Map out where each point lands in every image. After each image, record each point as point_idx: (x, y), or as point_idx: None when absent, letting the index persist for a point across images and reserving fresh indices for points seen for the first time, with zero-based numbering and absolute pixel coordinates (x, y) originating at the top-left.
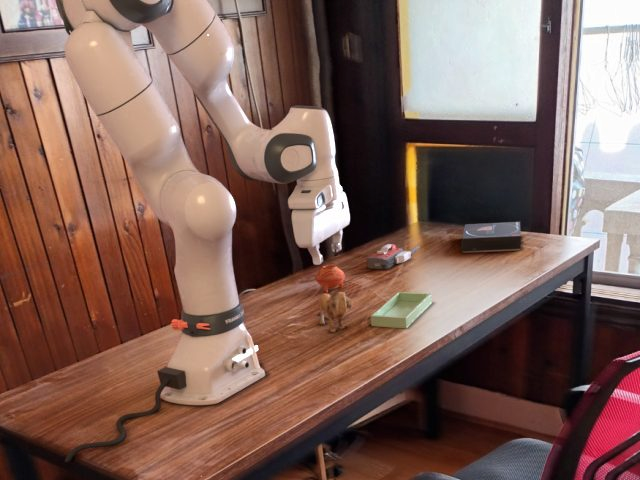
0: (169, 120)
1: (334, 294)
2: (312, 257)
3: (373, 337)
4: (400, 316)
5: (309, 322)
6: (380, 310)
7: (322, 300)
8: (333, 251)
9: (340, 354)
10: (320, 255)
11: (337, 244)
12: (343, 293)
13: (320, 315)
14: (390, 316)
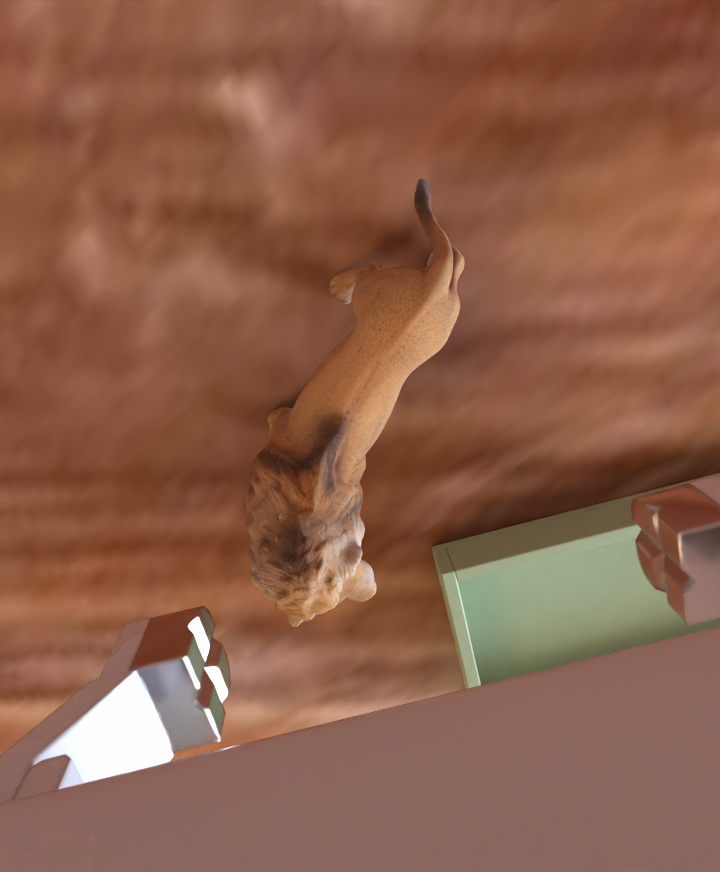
0: None
1: (293, 546)
2: (105, 669)
3: (312, 639)
4: (579, 605)
5: (333, 185)
6: (544, 557)
7: (347, 348)
8: (633, 507)
9: (71, 641)
10: (163, 760)
11: (685, 612)
12: (316, 611)
13: (362, 271)
14: (473, 661)
